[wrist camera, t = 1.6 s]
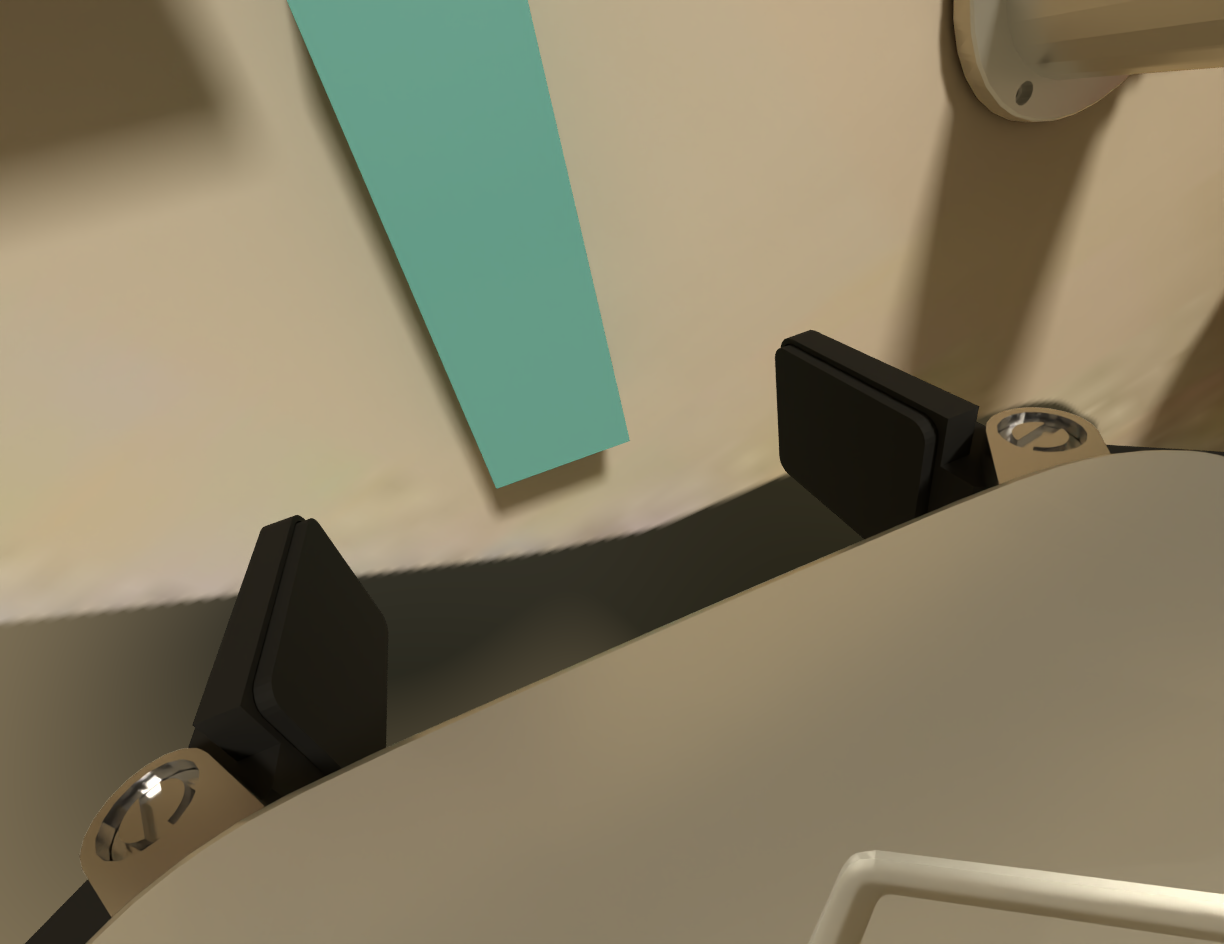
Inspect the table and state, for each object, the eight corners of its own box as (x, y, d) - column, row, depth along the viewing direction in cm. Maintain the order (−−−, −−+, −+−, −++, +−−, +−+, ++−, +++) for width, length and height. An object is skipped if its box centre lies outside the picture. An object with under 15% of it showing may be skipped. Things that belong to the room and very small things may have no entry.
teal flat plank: (472, -114, 16) (487, -174, 13) (603, 403, 27) (629, 440, 23) (270, -72, 16) (233, -124, 12) (485, 444, 26) (496, 488, 23)
